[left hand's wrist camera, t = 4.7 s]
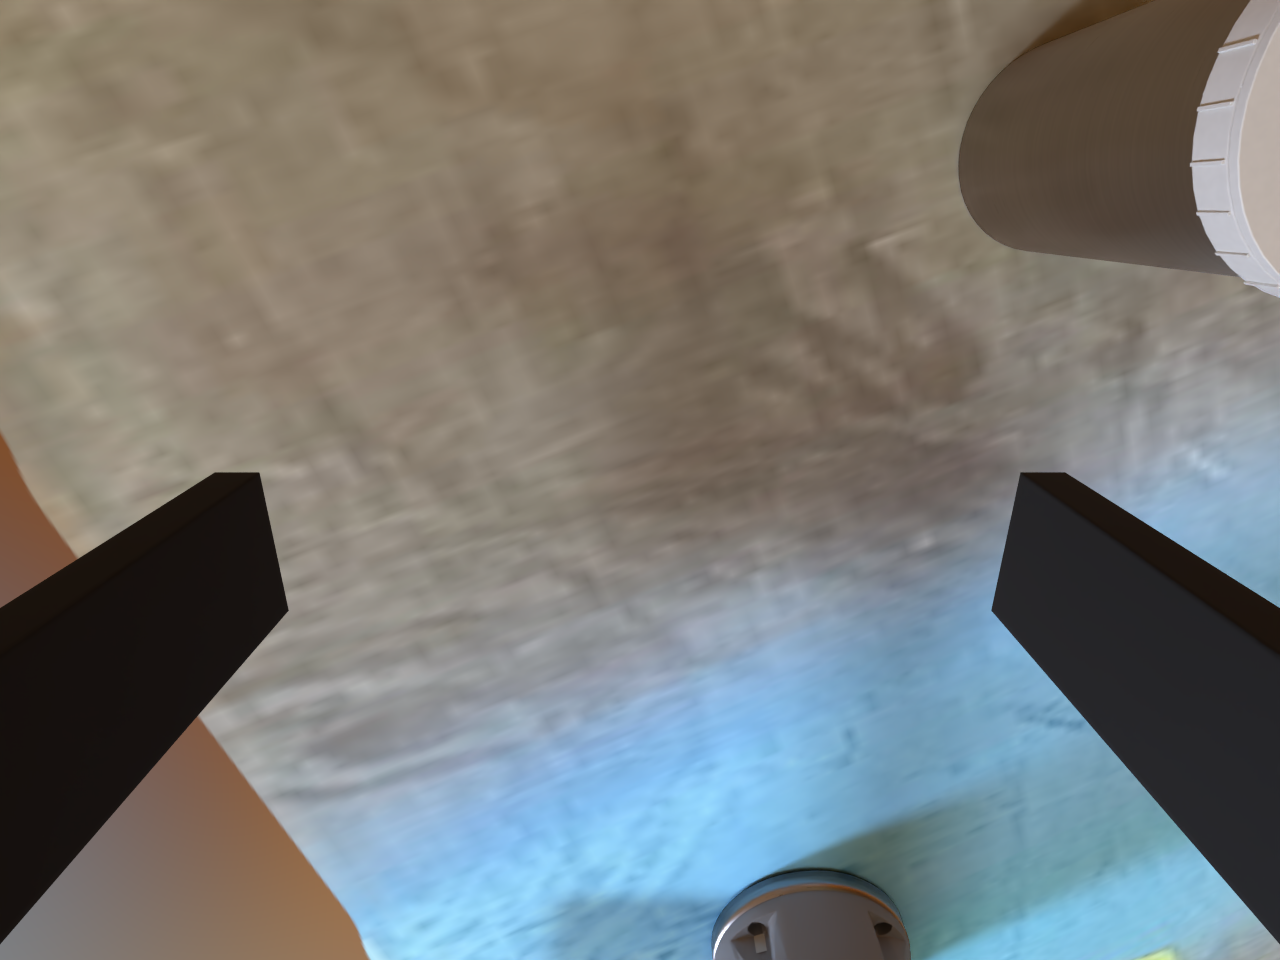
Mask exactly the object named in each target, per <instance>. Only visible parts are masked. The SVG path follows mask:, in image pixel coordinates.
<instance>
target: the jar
mask: <svg viewBox="0 0 1280 960" xmlns="http://www.w3.org/2000/svg"><path fill="white" fill-rule="evenodd" d="M1249 2H1250V0H1154V1H1152V2H1149V3H1147V4H1144V5H1142V6H1139V7H1137V8H1134V9H1132V10H1129V11H1127V12H1124V13H1122V14H1119V15H1117V16H1114V17H1112V18H1109V19H1106V20H1104V21H1101V22H1099V23H1096V24H1094V25H1091V26H1089V27H1086V28H1084V29H1081V30H1079V31H1076V32H1074V33H1071V34H1069V35H1066V36H1063V37H1061V38H1058V39H1056V40H1053V41H1051V42H1048V43H1046V44H1043V45H1041V46H1038V47H1036V48H1034V49H1032V50H1030V51H1029V52H1027V53H1025V54H1023V55H1022V56H1020V57H1019V58H1017V59H1016V60H1015V61H1013V62H1012V63H1011V64H1009V65H1008V66H1007V67H1006V68H1005V69H1004V70H1003V71H1002V72H1000V73H999V75H998V76H997V77H996V78H995V79H994V80H993V81H992V82H991V83H990V85H989V86H988V87H987V89H986V90H985V91H984V93H983V94H982V96H981V97H980V99H979V100H978V102H977V104H976V106H975V107H974V109H973V111H972V114H971V116H970V118H969V120H968V123H967V125H966V129H965V132H964V135H963V138H962V143H961V149H960V157H959V179H960V185H961V191H962V194H963V197H964V200H965V203H966V205H967V208H968V210H969V212H970V214H971V215H972V217H973V218H974V220H975V221H976V223H977V224H978V225H979V226H980V227H981V228H982V229H983V230H984V232H985V233H987V234H988V235H989V236H991V237H992V238H993V239H995V240H996V241H998V242H1000V243H1002V244H1004V245H1006V246H1009V247H1012V248H1014V249H1019V250H1024V251H1030V252H1039V253H1047V254H1055V255H1063V256H1072V257H1080V258H1088V259H1096V260H1104V261H1113V262H1121V263H1129V264H1137V265H1146V266H1154V267H1162V268H1170V269H1178V270H1187V271H1195V272H1203V273H1211V274H1220V275H1228V276H1236V277H1240V276H1239V275H1238V274H1237V273H1236V272H1234V271H1233V270H1232V269H1231V268H1230V267H1229V266H1228V265H1227V264H1226V262H1225V261H1224V260H1223V259H1222V258H1221V256H1217V255H1215V252H1216V250H1215V248H1214V247H1213V245H1212V243H1211V241H1210V240H1209V238H1208V236H1207V234H1206V232H1205V230H1204V227H1203V224H1202V222H1201V219H1200V217H1199V216H1197V214H1196V212H1198V210H1197V205H1196V200H1195V196H1194V191H1193V179H1192V167H1190V163H1191V162H1192V150H1193V136H1194V131H1195V126H1196V120H1197V115H1198V111H1197V107H1199V106H1200V103H1201V100H1202V97H1203V93H1204V90H1205V87H1206V83H1207V80H1208V78H1209V76H1210V73H1211V71H1212V68H1213V66H1214V64H1215V61H1216V59H1217V57H1218V54H1219V53H1218V50H1219V48H1222V46H1223V44H1224V43H1225V41H1226V39H1227V37H1228V35H1229V33H1230V32H1231V30H1232V28H1233V26H1234V24H1235V22H1236V21H1237V20H1238V18H1239V17H1240V15H1241V14H1242V12H1243V11H1244V9H1245V8H1246V6H1247V5H1248V3H1249Z"/></svg>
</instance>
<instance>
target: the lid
mask: <svg viewBox="0 0 1280 960" xmlns="http://www.w3.org/2000/svg"><path fill="white" fill-rule="evenodd" d="M1218 53H1219V54H1218V57H1217V59H1216V61H1215V64H1214V66H1213V68H1212V71H1211V73H1210V76H1209V78H1208V80H1207V83H1206V87H1205V90H1204V93H1203V97H1202V100H1201V103H1200V106H1199V107H1197V111H1198V115H1197V120H1196V126H1195V131H1194V136H1193V150H1192V162H1191V163H1190V167H1192V179H1193V191H1194V196H1195V200H1196V205H1197V210H1198V212H1196V214H1197V216H1199V217H1200V219H1201V222H1202V224H1203V227H1204V230H1205V232H1206V234H1207V236H1208V238H1209V240H1210V241H1211V243H1212V245H1213V247H1214V248H1215V250H1216V252H1215V255H1217V256H1221V258H1222V259H1223V260H1224V261H1225V262H1226V264H1227V265H1228V266H1229V267H1230V268H1231V269H1232V270H1233V271H1234V272H1236V273H1237V274H1238V275H1239V276H1240V277H1241V278H1243V279H1244V280H1245V282H1244V284H1246V285H1252V286H1255V287H1257V288H1258V289H1260V290H1262V291H1264V292H1266V293H1269V294H1271V295H1274V296H1277V297H1279V298H1280V0H1250V2H1249V3H1248V5H1247V6H1246V8H1245V9H1244V11H1243V12H1242V14H1241V15H1240V17H1239V18H1238V20H1237V21H1236V22H1235V24H1234V26H1233V28H1232V30H1231V32H1230V33H1229V35H1228V37H1227V39H1226V41H1225V43H1224V44H1223V46H1222V48H1219V50H1218Z"/></svg>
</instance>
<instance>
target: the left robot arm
mask: <svg viewBox="0 0 1280 960" xmlns="http://www.w3.org/2000/svg"><path fill="white" fill-rule="evenodd" d="M288 611H289V610H288V606H287V601H286V596H285V591H284V587H283V582H282V577H281V572H280V568H279V563H278V558H277V554H276V549H275V544H274V539H273V535H272V530H271V525H270V520H269V516H268V511H267V506H266V502H265V497H264V492H263V487H262V483H261V478H260V473H213V474H212V475H210V476H209V477H207V478H205V479H204V480H202V481H201V482H199V483H198V484H196V485H194V486H193V487H191V488H190V489H188V490H186V491H185V492H183V493H182V494H180V495H179V496H177V497H175V498H174V499H172V500H171V501H169V502H167V503H166V504H164V505H163V506H161V507H160V508H158V509H156V510H155V511H153V512H152V513H150V514H148V515H147V516H145V517H144V518H142V519H141V520H139V521H137V522H136V523H134V524H133V525H131V526H129V527H128V528H126V529H125V530H123V531H122V532H120V533H118V534H117V535H115V536H114V537H112V538H110V539H109V540H107V541H106V542H104V543H103V544H101V545H99V546H98V547H96V548H95V549H93V550H91V551H90V552H88V553H87V554H85V555H84V556H82V557H80V558H79V559H77V560H76V561H74V562H73V563H71V564H69V565H68V566H66V567H65V568H63V569H61V570H60V571H58V572H57V573H55V574H54V575H52V576H50V577H49V578H47V579H46V580H44V581H43V582H41V583H39V584H38V585H36V586H34V587H33V588H31V589H30V590H28V591H27V592H25V593H23V594H22V595H20V596H19V597H17V598H16V599H14V600H12V601H11V602H9V603H8V604H6V605H5V606H3V607H1V608H0V944H1V943H2V941H3V940H4V939H5V938H6V937H7V936H8V934H9V933H10V932H11V931H12V930H13V929H14V928H15V926H16V925H17V924H18V923H19V922H20V921H21V919H22V918H23V917H24V916H25V915H26V914H27V912H28V911H29V910H30V909H31V908H32V907H33V906H34V904H35V903H36V902H37V901H38V900H39V899H40V897H41V896H42V895H43V894H44V893H45V892H46V891H47V889H48V888H49V887H50V886H51V885H52V884H53V882H54V881H55V880H56V879H57V878H58V877H59V875H60V874H61V873H62V872H63V871H64V870H65V869H66V867H67V866H68V865H69V864H70V863H71V862H72V860H73V859H74V858H75V857H76V856H77V855H78V853H79V852H80V851H81V850H82V849H83V848H84V846H85V845H86V844H87V843H88V842H89V841H90V840H91V838H92V837H93V836H94V835H95V834H96V833H97V832H98V830H99V829H100V828H101V827H102V826H103V825H104V823H105V822H106V821H107V820H108V819H109V818H110V817H111V815H112V814H113V813H114V812H115V811H116V810H117V808H118V807H119V806H120V805H121V804H122V803H123V801H124V800H125V799H126V798H127V797H128V796H129V794H130V793H131V792H132V791H133V790H134V789H135V788H136V786H137V785H138V784H139V783H140V782H141V781H142V779H143V778H144V777H145V776H146V775H147V774H148V773H149V771H150V770H151V769H152V768H153V767H154V766H155V764H156V763H157V762H158V761H159V760H160V759H161V758H162V756H163V755H164V754H165V753H166V752H167V751H168V749H169V748H170V747H171V746H172V745H173V744H174V742H175V741H176V740H177V739H178V738H179V737H180V735H181V734H182V733H183V732H184V731H185V730H186V729H187V727H188V726H189V725H190V724H191V723H192V722H193V720H194V719H195V718H196V717H197V716H198V715H199V714H200V712H201V711H202V710H203V709H204V708H205V707H206V705H207V704H208V703H209V702H210V701H211V700H212V699H213V697H214V696H215V695H216V694H217V693H218V692H219V690H220V689H221V688H222V687H223V686H224V685H225V683H226V682H227V681H228V680H229V679H230V678H231V677H232V675H233V674H234V673H235V672H236V671H237V670H238V668H239V667H240V666H241V665H242V664H243V663H244V661H245V660H246V659H247V658H248V657H249V656H250V655H251V653H252V652H253V651H254V650H255V649H256V648H257V646H258V645H259V644H260V643H261V642H262V641H263V640H264V638H265V637H266V636H267V635H268V634H269V633H270V631H271V630H272V629H273V628H274V627H275V626H276V624H277V623H278V622H279V621H280V620H281V619H282V618H283V616H284V615H285V614H286V613H287V612H288ZM991 611H992V612H993V613H994V614H995V615H996V616H997V618H998V619H999V620H1000V621H1001V622H1002V623H1003V624H1004V626H1005V627H1006V628H1007V629H1008V630H1009V631H1010V633H1011V634H1012V635H1013V636H1014V637H1015V638H1016V640H1017V641H1018V642H1019V643H1020V644H1021V645H1022V646H1023V648H1024V649H1025V650H1026V651H1027V652H1028V653H1029V655H1030V656H1031V657H1032V658H1033V659H1034V660H1035V662H1036V663H1037V664H1038V665H1039V666H1040V667H1041V668H1042V670H1043V671H1044V672H1045V673H1046V674H1047V675H1048V677H1049V678H1050V679H1051V680H1052V681H1053V682H1054V683H1055V685H1056V686H1057V687H1058V688H1059V689H1060V690H1061V692H1062V693H1063V694H1064V695H1065V696H1066V697H1067V699H1068V700H1069V701H1070V702H1071V703H1072V704H1073V705H1074V707H1075V708H1076V709H1077V710H1078V711H1079V712H1080V714H1081V715H1082V716H1083V717H1084V718H1085V719H1086V720H1087V722H1088V723H1089V724H1090V725H1091V726H1092V727H1093V729H1094V730H1095V731H1096V732H1097V733H1098V734H1099V736H1100V737H1101V738H1102V739H1103V740H1104V741H1105V742H1106V744H1107V745H1108V746H1109V747H1110V748H1111V749H1112V751H1113V752H1114V753H1115V754H1116V755H1117V756H1118V758H1119V759H1120V760H1121V761H1122V762H1123V763H1124V764H1125V766H1126V767H1127V768H1128V769H1129V770H1130V771H1131V773H1132V774H1133V775H1134V776H1135V777H1136V778H1137V779H1138V781H1139V782H1140V783H1141V784H1142V785H1143V786H1144V788H1145V789H1146V790H1147V791H1148V792H1149V793H1150V795H1151V796H1152V797H1153V798H1154V799H1155V800H1156V801H1157V803H1158V804H1159V805H1160V806H1161V807H1162V808H1163V810H1164V811H1165V812H1166V813H1167V814H1168V815H1169V817H1170V818H1171V819H1172V820H1173V821H1174V822H1175V823H1176V825H1177V826H1178V827H1179V828H1180V829H1181V830H1182V832H1183V833H1184V834H1185V835H1186V836H1187V837H1188V838H1189V840H1190V841H1191V842H1192V843H1193V844H1194V845H1195V847H1196V848H1197V849H1198V850H1199V851H1200V852H1201V854H1202V855H1203V856H1204V857H1205V858H1206V859H1207V860H1208V862H1209V863H1210V864H1211V865H1212V866H1213V867H1214V869H1215V870H1216V871H1217V872H1218V873H1219V874H1220V875H1221V877H1222V878H1223V879H1224V880H1225V881H1226V882H1227V884H1228V885H1229V886H1230V887H1231V888H1232V889H1233V891H1234V892H1235V893H1236V894H1237V895H1238V896H1239V897H1240V899H1241V900H1242V901H1243V902H1244V903H1245V904H1246V906H1247V907H1248V908H1249V909H1250V910H1251V911H1252V913H1253V914H1254V915H1255V916H1256V917H1257V918H1258V919H1259V921H1260V922H1261V923H1262V924H1263V925H1264V926H1265V928H1266V929H1267V930H1268V931H1269V932H1270V933H1271V934H1272V936H1273V937H1274V938H1275V939H1276V940H1277V941H1278V943H1279V944H1280V608H1279V607H1277V606H1276V605H1274V604H1272V603H1271V602H1269V601H1268V600H1266V599H1264V598H1263V597H1261V596H1260V595H1258V594H1257V593H1255V592H1253V591H1252V590H1250V589H1249V588H1247V587H1246V586H1244V585H1242V584H1241V583H1239V582H1238V581H1236V580H1234V579H1233V578H1231V577H1230V576H1228V575H1227V574H1225V573H1223V572H1222V571H1220V570H1219V569H1217V568H1215V567H1214V566H1212V565H1211V564H1209V563H1208V562H1206V561H1204V560H1203V559H1201V558H1200V557H1198V556H1196V555H1195V554H1193V553H1192V552H1190V551H1189V550H1187V549H1185V548H1184V547H1182V546H1181V545H1179V544H1177V543H1176V542H1174V541H1173V540H1171V539H1170V538H1168V537H1166V536H1165V535H1163V534H1162V533H1160V532H1158V531H1157V530H1155V529H1154V528H1152V527H1151V526H1149V525H1147V524H1146V523H1144V522H1143V521H1141V520H1139V519H1138V518H1136V517H1135V516H1133V515H1132V514H1130V513H1128V512H1127V511H1125V510H1124V509H1122V508H1120V507H1119V506H1117V505H1116V504H1114V503H1113V502H1111V501H1109V500H1108V499H1106V498H1105V497H1103V496H1101V495H1100V494H1098V493H1097V492H1095V491H1094V490H1092V489H1090V488H1089V487H1087V486H1086V485H1084V484H1082V483H1081V482H1079V481H1078V480H1076V479H1075V478H1073V477H1071V476H1070V475H1068V474H1067V473H1020V478H1019V483H1018V487H1017V492H1016V497H1015V502H1014V506H1013V511H1012V516H1011V520H1010V525H1009V530H1008V535H1007V539H1006V544H1005V549H1004V554H1003V558H1002V563H1001V568H1000V572H999V577H998V582H997V587H996V591H995V596H994V601H993V606H992V610H991ZM711 945H712V956H713V960H911V952H910V944H909V939H908V936H907V933H906V930H905V927H904V924H903V922H902V919H901V916H900V914H899V912H898V909H897V908H896V906H895V905H894V903H893V902H892V900H891V899H890V898H889V897H888V896H887V895H886V894H885V893H884V892H883V891H881V890H880V889H879V888H877V887H876V886H874V885H872V884H871V883H869V882H867V881H864V880H862V879H860V878H857V877H854V876H851V875H847V874H844V873H838V872H831V871H816V870H815V871H799V872H792V873H787V874H782V875H779V876H775V877H772V878H769V879H766V880H764V881H761V882H759V883H757V884H755V885H753V886H751V887H749V888H748V889H746V890H745V891H743V892H742V893H740V894H739V895H738V896H736V897H735V898H734V899H733V900H732V901H731V902H730V903H729V904H728V905H727V906H726V907H725V908H724V910H723V911H722V912H721V914H720V915H719V917H718V919H717V921H716V923H715V926H714V929H713V932H712V939H711Z"/></svg>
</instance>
